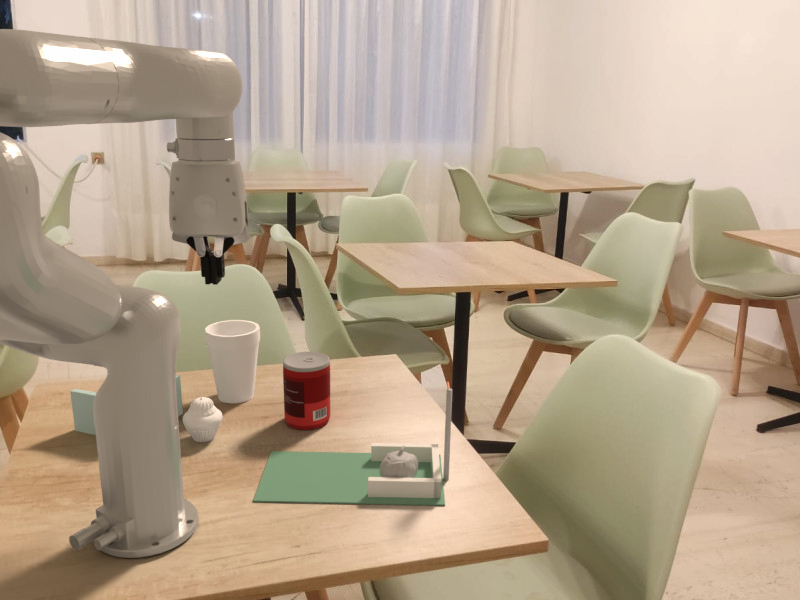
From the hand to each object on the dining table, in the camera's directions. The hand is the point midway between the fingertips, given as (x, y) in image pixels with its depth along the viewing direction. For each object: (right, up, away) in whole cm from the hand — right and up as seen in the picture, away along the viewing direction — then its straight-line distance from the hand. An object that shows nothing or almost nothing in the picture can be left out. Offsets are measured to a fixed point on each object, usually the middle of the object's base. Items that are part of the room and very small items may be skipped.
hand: (213, 281), depth 105 cm
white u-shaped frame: (+28, -28, +1) cm, 40 cm away
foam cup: (-3, -20, +28) cm, 35 cm away
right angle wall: (-18, -24, +17) cm, 35 cm away
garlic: (+26, -29, 0) cm, 39 cm away
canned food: (+11, -23, +19) cm, 32 cm away
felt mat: (+20, -28, +1) cm, 34 cm away
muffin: (-5, -25, +12) cm, 28 cm away
